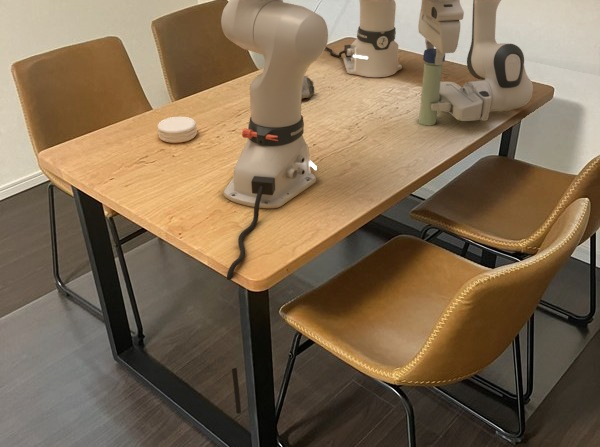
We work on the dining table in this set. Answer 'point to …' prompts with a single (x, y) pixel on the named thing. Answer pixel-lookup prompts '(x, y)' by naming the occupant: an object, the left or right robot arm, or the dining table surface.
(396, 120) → the dining table surface
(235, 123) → the dining table surface
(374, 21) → the right robot arm
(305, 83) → the rock
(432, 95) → the green bottle
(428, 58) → the lid
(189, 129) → the white round tin
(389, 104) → the dining table surface
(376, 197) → the dining table surface
